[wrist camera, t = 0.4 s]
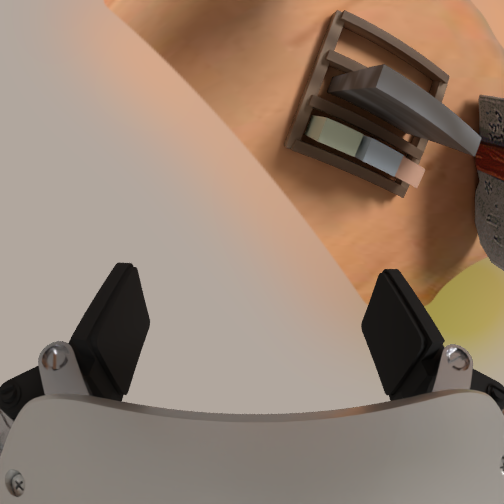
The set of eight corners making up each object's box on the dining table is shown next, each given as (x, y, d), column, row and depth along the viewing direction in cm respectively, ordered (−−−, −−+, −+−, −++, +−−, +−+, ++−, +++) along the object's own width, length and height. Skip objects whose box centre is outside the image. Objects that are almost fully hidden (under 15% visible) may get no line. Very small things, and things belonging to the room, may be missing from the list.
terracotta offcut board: (377, 144, 36) (400, 154, 30) (401, 157, 37) (425, 169, 31) (370, 162, 37) (391, 174, 31) (394, 174, 38) (417, 188, 32)
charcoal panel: (332, 77, 31) (384, 64, 17) (411, 119, 33) (481, 137, 20) (326, 92, 32) (375, 87, 18) (406, 133, 35) (474, 156, 21)
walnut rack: (333, 13, 26) (339, 8, 23) (441, 78, 29) (452, 78, 26) (283, 145, 36) (286, 148, 34) (397, 193, 39) (406, 199, 37)
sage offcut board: (311, 114, 34) (326, 117, 27) (342, 127, 35) (363, 134, 28) (304, 134, 35) (317, 141, 28) (334, 146, 36) (354, 157, 29)
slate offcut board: (346, 129, 35) (372, 137, 27) (373, 143, 36) (403, 155, 28) (339, 148, 36) (362, 161, 28) (366, 160, 37) (394, 176, 29)
